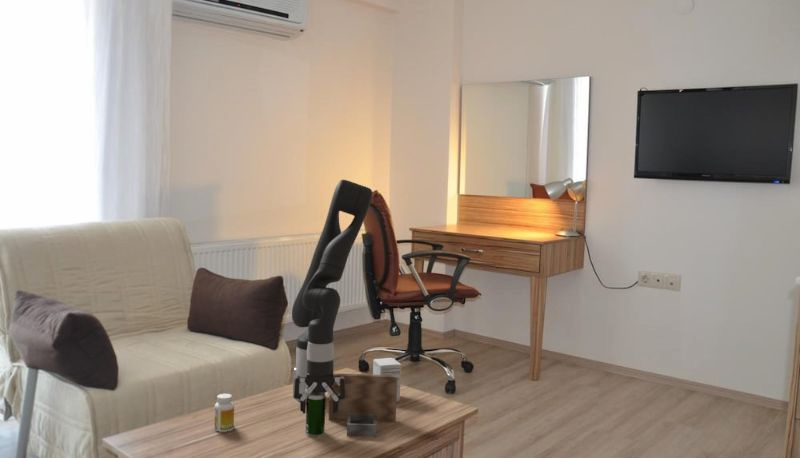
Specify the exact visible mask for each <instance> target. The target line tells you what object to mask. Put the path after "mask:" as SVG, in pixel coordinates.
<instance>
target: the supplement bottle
mask: <svg viewBox="0 0 800 458" xmlns="http://www.w3.org/2000/svg"><path fill="white" fill-rule="evenodd" d="M216 398H217V399H216V403H215V404H214V423H213V424H214V427H213V428H214V430H215V431H216V432H218V431H219V432H220V433H226V432H227V431H228V432H231V431H233V429H234V427H235V404H234V402H233V401H232V400H233V395H232V394H231V393H220V394H218V395H217V396H216ZM228 432H227V433H228Z"/></svg>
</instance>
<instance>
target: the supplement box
mask: <svg viewBox="0 0 800 458" xmlns="http://www.w3.org/2000/svg"><path fill="white" fill-rule="evenodd" d="M372 361H373V362H372V363H373V364H372V375H397V377H398V378H397V401H396V402H400V400H401V376H402V364H401V363H400V362H399V361H398V360H396V359H395V358H394V357H385V358H374V359H373V360H372Z"/></svg>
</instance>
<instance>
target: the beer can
mask: <svg viewBox="0 0 800 458" xmlns="http://www.w3.org/2000/svg"><path fill="white" fill-rule="evenodd" d="M325 420H326V392H325V393H320V392H319V393H314V392H311V393H310V394H309V395H308V396H307V401H306V412H305V434H306V435H307V436H308V437H312V438H318V437H322V436H323V435H324V433H325V430H326V429H325V428H326V427H325V424H326V421H325Z"/></svg>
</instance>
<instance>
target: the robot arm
mask: <svg viewBox="0 0 800 458" xmlns="http://www.w3.org/2000/svg"><path fill="white" fill-rule="evenodd" d="M372 198H373V191H372V189H371V188H370V187H368V186H365V185H363V184H359V183H356V182H353V181H350V180H347V179H341V180H339V181H338V183H337V185H336V187H335V188H334V191H333V194H332V198H331V200H330V201H331V202H330V205H329V208H328V212H327V216H326V219H325V223H324V224H323V225H324V226H323V229H322V231H321V234H320V235H319V236H320V237H319V239H318V242H317V243H316V247H315V249H314V253H313V255H312V258H311V262H310V264H309V267H308V271H307V273H306V276H305V278H304V280H303V283H302V285H301V287H300V290H299V291H298V293H297V295H296V298H295V300H294V303H292V304H293V305H292V308H291V319H292V322H293V324H294V325H295V326H297V327H298V328H307V329H306V330H305V331H304V332H303V333H302V334H300V335H299V336H298V337H297V338H296V349H295V350H296V353H295V354H296V355H295V356H296V357H295V359H296V361H295V365H296V366H295V367H294V368H293V372H292V373H293V377H292V379H293V380H292V381H293V382H292V397H293V398H294V400H296V401H298V402H300V405H299V410H300V412H302V414H305V415H306V401H307V396H308V395H309V394H310V393H311V392H314V393H319V392H320V393H325V394H326V393H328V395H329V396H332V398H333V399H334V400H333V414H336V412H337V411H338V401H339V400H340V399H344V398H345V382H344V376H341V377H337V378H335V377H334V375H333V373H334V369H335V368H334V366H335V365H334V364H335V363H334V360H335V359H334V357H335V347H334V327H335V323H336V318H337V316H338V312H339V308H340V305H341V296H340V294H339V292H338V291H337V290H336V289H335V288H332V287H328V285H329V284H332V283H337V282H339V281H340V280H341V278H342V276H343V273H344V271H345V267H346V265H347V261H348V258H349V255H350V253H351V250H352V248H353V245H354V244H355V241H356V239H357V237H358V235H359V233H360V231H361V228H362V225H363V224H364V221H365V219H366V216H367V214H368V211H369V209H370V206H371V202H372V200H373V199H372ZM340 212H342V213H345V214H348V215H351V216H353V219H352V221H351V223H350V224H349V225H348V226H347V227H346V228H345V229H344V230H343V231H342V230H341V225H340ZM334 382H337V384H338V385H340V394H337V393H336V391H335V390H334V388H333V387H332V385H333V384H334Z"/></svg>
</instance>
